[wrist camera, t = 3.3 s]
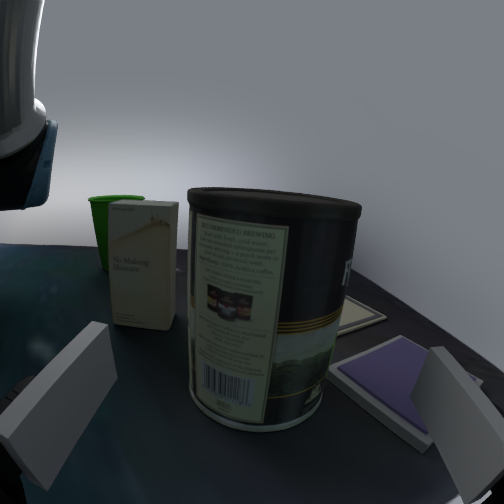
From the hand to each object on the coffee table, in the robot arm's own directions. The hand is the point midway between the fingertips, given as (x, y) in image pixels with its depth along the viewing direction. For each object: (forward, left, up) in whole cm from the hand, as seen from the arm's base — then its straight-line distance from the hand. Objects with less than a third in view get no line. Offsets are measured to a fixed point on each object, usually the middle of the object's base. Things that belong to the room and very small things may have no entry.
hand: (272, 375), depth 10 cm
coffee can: (-8, +4, -8) cm, 12 cm away
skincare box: (-21, -2, -8) cm, 22 cm away
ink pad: (-1, +15, -8) cm, 17 cm away
